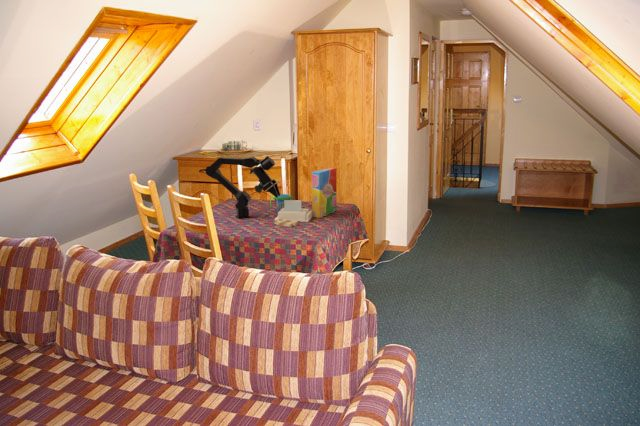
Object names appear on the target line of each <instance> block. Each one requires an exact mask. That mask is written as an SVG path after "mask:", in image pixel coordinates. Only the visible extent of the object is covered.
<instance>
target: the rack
mask: <svg viewBox="0 0 640 426" xmlns="http://www.w3.org/2000/svg"><path fill="white" fill-rule="evenodd" d="M279 219H285V220H291V221H300V222H304V223H305V222H306V223H307V222H309V221H311V220H312V219H313V217H312V209H311V210H310V209H309V208H302V211H284V208H282V209H281V211H279V212H277V216H276V217H275V218H274V221H276V220H278V221H279Z"/></svg>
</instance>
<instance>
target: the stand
mask: <svg viewBox="0 0 640 426" xmlns="http://www.w3.org/2000/svg"><path fill="white" fill-rule="evenodd" d="M273 222H274V225H275V224H276V226H281V227H282V226H283V227H286V228H287V227H288V228H293V226H294V227H296V226H298V225H299V223H298V221H291V220H285V219H279V221H278V220H276V221H275V220H274V221H273Z"/></svg>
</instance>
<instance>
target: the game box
mask: <svg viewBox="0 0 640 426" xmlns="http://www.w3.org/2000/svg"><path fill="white" fill-rule="evenodd" d="M337 196H338V195H337V168H336V167H327V168H323V169H319V170H314V171H312V172H311V197H312V198H311V204H312V205H311V210H312V218H315V217H316V219H317V218H318V219H320V218H323V216H324V217H325V216H328V214H329V215H330V213H331V214H333V212H334V213H336V212H337V206H338V205H337V203H338V202H337V201H338V200H337V199H338V198H337ZM335 211H336V212H335Z"/></svg>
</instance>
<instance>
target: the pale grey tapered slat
mask: <svg viewBox="0 0 640 426" xmlns="http://www.w3.org/2000/svg"><path fill="white" fill-rule="evenodd" d="M302 203H303V202H302V200H301V199H300V200H299V199H298V200H297V199H295V200H294V199H291V200H284V211H302V209H303V206H302Z"/></svg>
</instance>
